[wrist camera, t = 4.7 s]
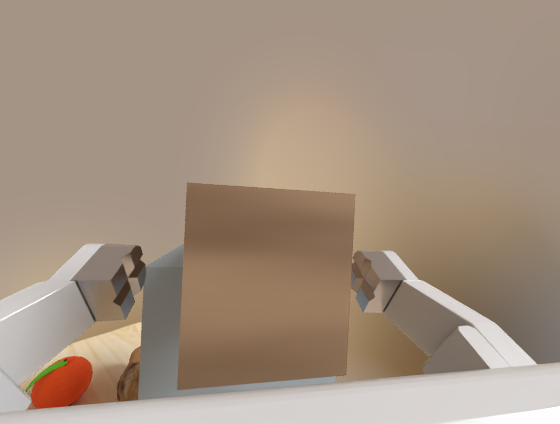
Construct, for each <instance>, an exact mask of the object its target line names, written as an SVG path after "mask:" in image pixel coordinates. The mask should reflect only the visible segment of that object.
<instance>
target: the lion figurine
mask: <svg viewBox="0 0 560 424" xmlns="http://www.w3.org/2000/svg"><path fill="white" fill-rule="evenodd" d="M140 351H141V346H140V347H138V348H137V349H135V350H134V351H133V352H132V354H131V357H130V360H129V364H128V366H127V368H126V369H125V371H124V373H123V374H122V376H121V377H120V380H119V382H118V386H117V398H118V401H119V402H122V401H133V400H138V393H139V372H140Z"/></svg>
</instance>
